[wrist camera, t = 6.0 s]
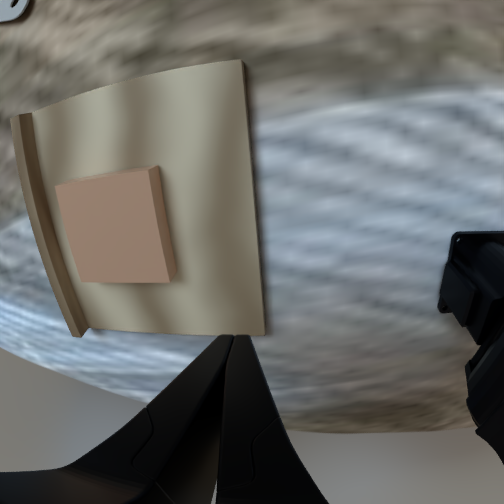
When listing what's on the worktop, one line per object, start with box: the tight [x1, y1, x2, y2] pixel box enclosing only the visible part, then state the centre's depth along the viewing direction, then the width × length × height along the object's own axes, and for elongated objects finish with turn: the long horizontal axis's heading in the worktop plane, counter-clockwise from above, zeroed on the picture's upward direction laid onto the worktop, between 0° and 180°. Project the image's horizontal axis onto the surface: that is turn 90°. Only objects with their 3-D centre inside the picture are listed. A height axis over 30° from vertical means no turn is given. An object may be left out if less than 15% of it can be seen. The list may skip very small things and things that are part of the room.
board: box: [10, 59, 266, 338], centre depth 19 cm, size 16×18×2 cm
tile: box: [55, 165, 177, 283], centre depth 19 cm, size 2×7×7 cm
